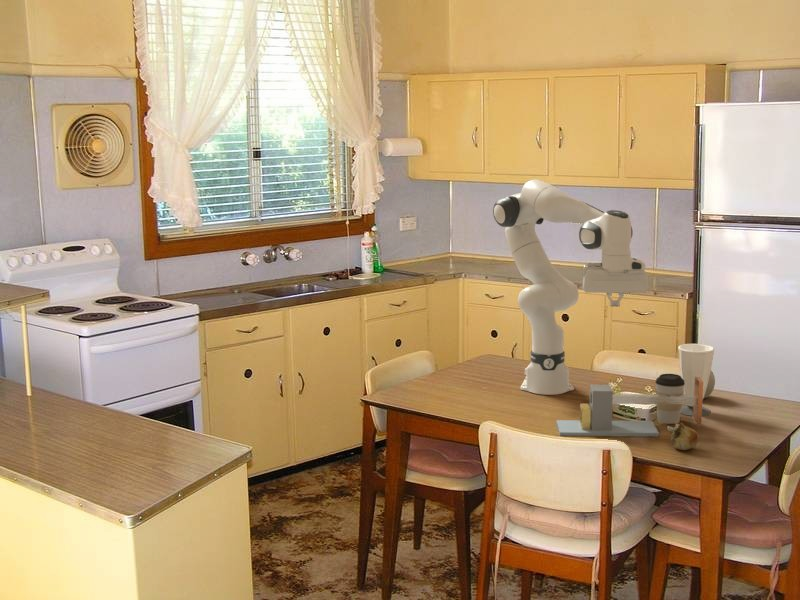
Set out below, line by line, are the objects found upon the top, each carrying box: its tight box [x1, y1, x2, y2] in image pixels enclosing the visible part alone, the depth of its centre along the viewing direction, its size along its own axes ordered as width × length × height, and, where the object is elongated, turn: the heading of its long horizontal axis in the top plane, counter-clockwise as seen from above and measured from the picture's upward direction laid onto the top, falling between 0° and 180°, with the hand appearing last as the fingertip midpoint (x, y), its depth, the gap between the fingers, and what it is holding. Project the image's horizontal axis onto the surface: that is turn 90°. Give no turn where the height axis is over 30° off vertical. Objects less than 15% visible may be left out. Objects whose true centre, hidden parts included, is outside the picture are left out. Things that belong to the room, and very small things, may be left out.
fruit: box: [703, 370, 716, 399], centre depth 336 cm, size 10×12×15 cm
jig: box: [555, 384, 660, 437], centre depth 304 cm, size 12×30×14 cm, turn 86°
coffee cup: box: [655, 373, 685, 425], centre depth 312 cm, size 9×9×15 cm
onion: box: [666, 421, 699, 451], centre depth 287 cm, size 8×8×8 cm
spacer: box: [579, 403, 591, 430], centre depth 305 cm, size 6×2×6 cm, turn 176°
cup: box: [677, 343, 715, 417], centre depth 321 cm, size 12×12×22 cm
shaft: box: [612, 377, 704, 425], centre depth 303 cm, size 6×29×14 cm, turn 86°
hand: (614, 306), depth 309 cm, fingers closed
